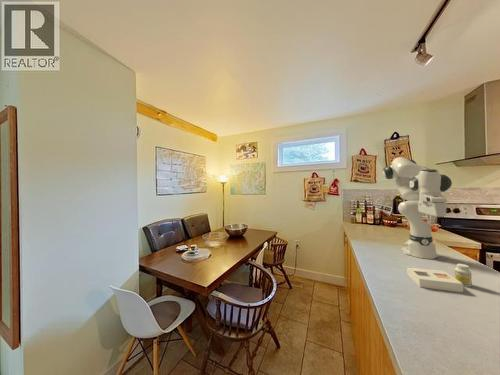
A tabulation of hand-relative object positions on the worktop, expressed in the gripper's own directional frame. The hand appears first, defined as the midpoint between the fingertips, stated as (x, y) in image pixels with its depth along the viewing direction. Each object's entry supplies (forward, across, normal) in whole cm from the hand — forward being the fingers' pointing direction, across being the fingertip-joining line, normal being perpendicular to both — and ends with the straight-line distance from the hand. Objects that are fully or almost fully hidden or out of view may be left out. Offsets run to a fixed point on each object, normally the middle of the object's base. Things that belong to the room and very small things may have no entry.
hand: (431, 222), depth 104 cm
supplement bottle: (+29, +9, +8) cm, 32 cm away
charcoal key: (+29, +11, -9) cm, 32 cm away
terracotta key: (+29, +11, -1) cm, 31 cm away
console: (+29, +11, -5) cm, 31 cm away
